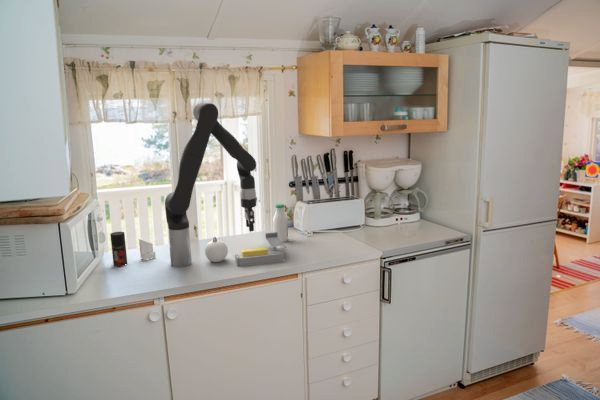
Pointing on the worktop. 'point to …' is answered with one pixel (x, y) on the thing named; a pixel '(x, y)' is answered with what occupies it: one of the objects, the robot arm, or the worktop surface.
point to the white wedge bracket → (146, 250)
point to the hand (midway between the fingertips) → (250, 228)
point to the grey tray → (259, 258)
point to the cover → (275, 241)
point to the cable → (254, 252)
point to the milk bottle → (280, 223)
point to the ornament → (216, 250)
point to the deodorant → (118, 248)
